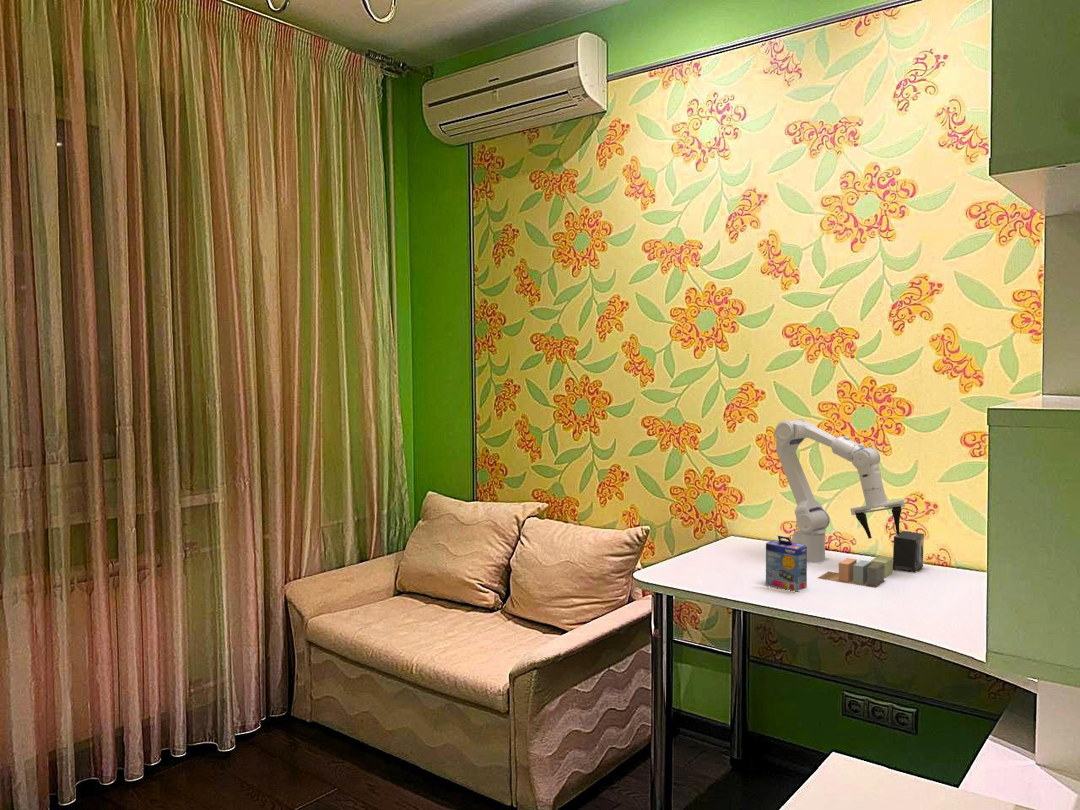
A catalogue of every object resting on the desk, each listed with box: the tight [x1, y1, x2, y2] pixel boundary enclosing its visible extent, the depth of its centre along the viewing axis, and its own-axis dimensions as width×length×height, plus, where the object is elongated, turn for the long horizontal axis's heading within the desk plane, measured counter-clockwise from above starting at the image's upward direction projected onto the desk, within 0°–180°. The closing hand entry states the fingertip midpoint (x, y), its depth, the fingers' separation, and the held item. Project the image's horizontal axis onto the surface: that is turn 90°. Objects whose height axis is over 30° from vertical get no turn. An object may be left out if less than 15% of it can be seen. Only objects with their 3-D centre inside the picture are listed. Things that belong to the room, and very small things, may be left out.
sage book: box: [870, 555, 894, 579], centre depth 237 cm, size 4×7×5 cm, turn 141°
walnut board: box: [817, 571, 886, 589], centre depth 232 cm, size 16×9×1 cm, turn 51°
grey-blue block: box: [853, 559, 871, 585], centre depth 230 cm, size 3×7×5 cm, turn 141°
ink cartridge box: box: [765, 535, 808, 593], centre depth 226 cm, size 10×6×14 cm, turn 45°
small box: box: [892, 530, 925, 574], centre depth 244 cm, size 11×6×10 cm, turn 143°
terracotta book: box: [838, 557, 858, 582], centre depth 232 cm, size 3×7×5 cm, turn 141°
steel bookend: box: [867, 562, 885, 588], centre depth 228 cm, size 2×7×5 cm, turn 141°
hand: (884, 536), depth 237 cm, fingers open, 7 cm apart
